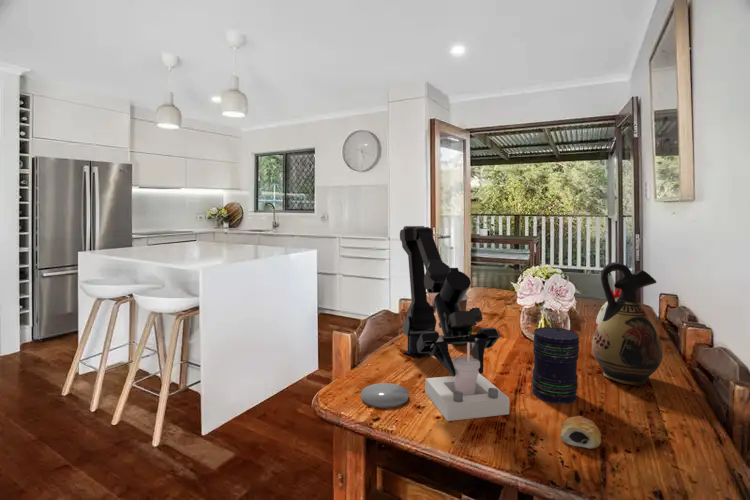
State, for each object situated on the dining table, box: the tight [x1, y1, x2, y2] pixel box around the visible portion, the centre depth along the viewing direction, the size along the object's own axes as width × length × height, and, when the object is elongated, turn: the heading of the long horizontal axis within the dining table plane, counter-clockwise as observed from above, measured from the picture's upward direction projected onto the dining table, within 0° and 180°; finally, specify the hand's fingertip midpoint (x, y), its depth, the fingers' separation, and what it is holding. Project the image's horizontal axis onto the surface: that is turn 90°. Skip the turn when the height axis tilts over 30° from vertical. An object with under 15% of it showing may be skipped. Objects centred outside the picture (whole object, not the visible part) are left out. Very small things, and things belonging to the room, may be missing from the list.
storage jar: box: [531, 326, 580, 405], centre depth 97 cm, size 10×10×15 cm
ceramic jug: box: [591, 261, 664, 387], centre depth 107 cm, size 17×15×30 cm
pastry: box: [559, 415, 602, 450], centre depth 80 cm, size 9×7×4 cm
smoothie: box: [451, 342, 480, 396], centre depth 93 cm, size 6×6×14 cm
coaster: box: [360, 382, 409, 409], centre depth 97 cm, size 11×11×1 cm
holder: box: [424, 373, 511, 422], centre depth 94 cm, size 14×14×5 cm
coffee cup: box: [459, 293, 470, 311], centre depth 164 cm, size 9×9×12 cm
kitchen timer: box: [595, 288, 622, 328], centre depth 153 cm, size 14×14×15 cm
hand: (468, 374), depth 92 cm, fingers closed on smoothie, 6 cm apart
